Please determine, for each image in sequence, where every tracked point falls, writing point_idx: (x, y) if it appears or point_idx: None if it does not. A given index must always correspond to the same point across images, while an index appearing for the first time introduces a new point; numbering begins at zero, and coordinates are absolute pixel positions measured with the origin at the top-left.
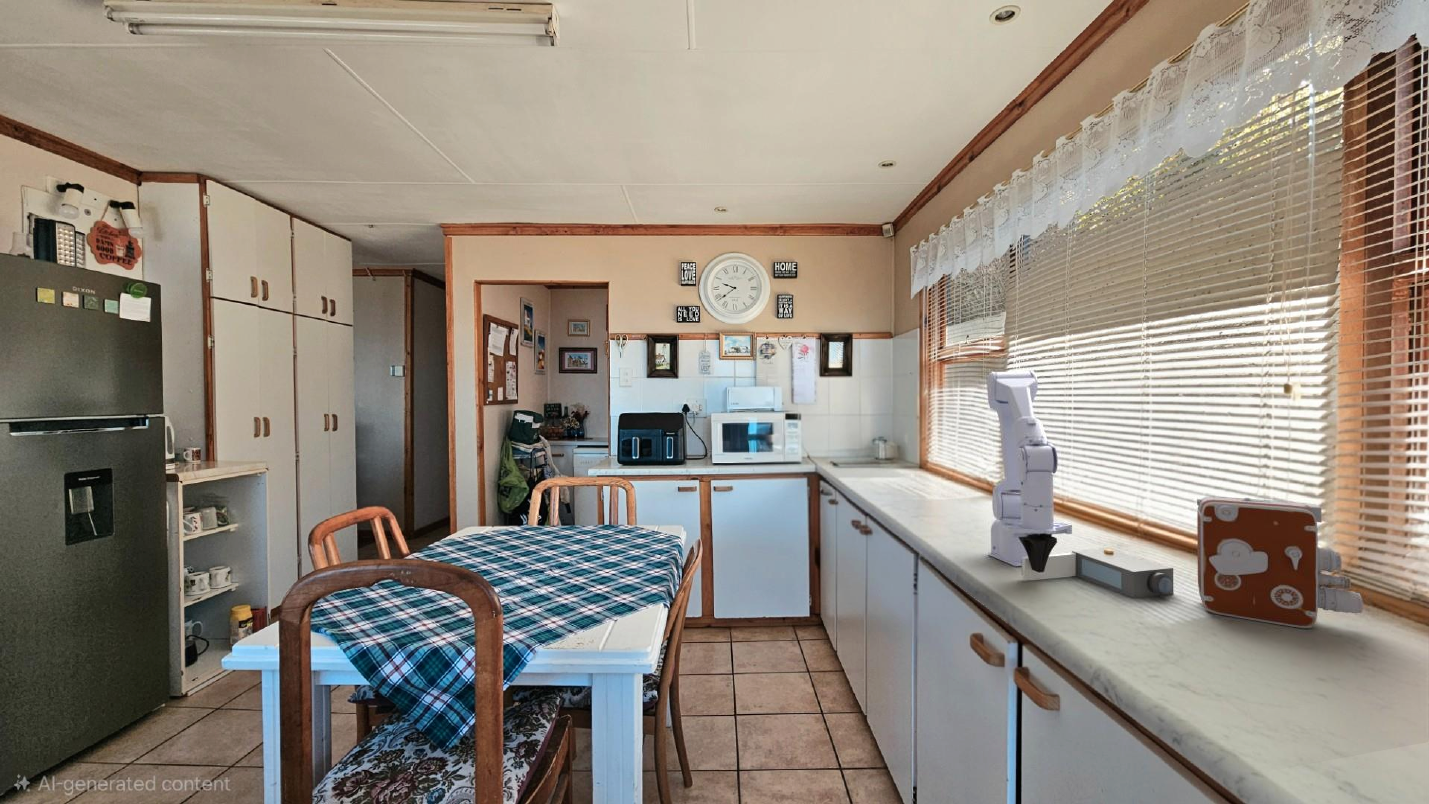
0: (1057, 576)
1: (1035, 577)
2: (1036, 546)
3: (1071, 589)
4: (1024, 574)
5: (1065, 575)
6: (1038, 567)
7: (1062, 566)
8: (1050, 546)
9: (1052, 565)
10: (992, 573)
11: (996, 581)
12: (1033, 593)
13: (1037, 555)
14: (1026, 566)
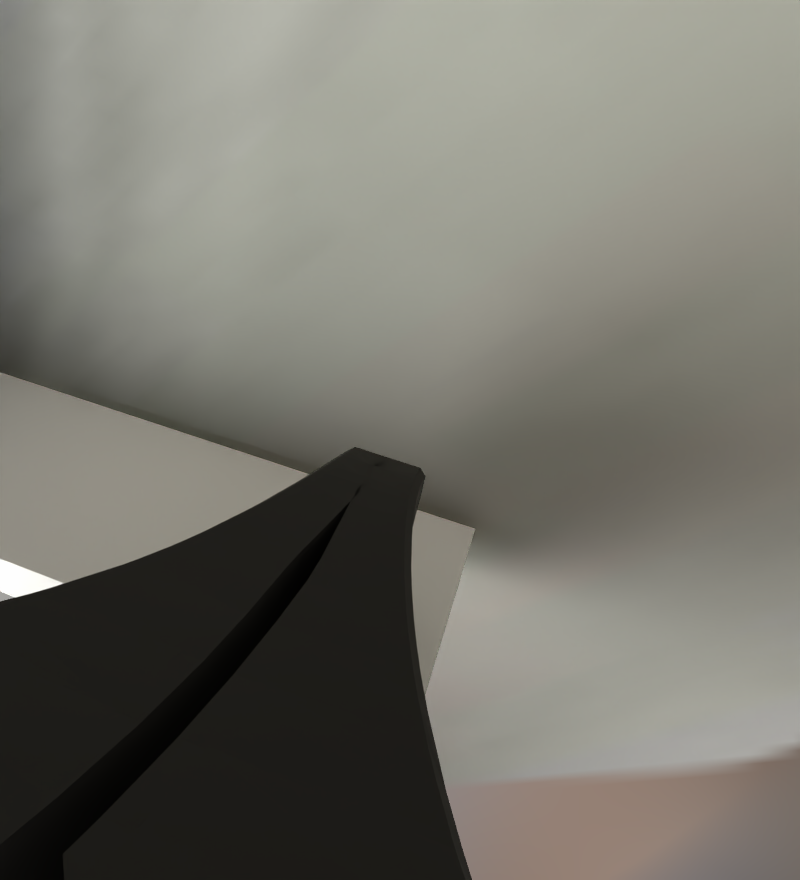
0: (136, 420)
1: None
2: (464, 876)
3: (252, 151)
4: (461, 572)
5: (57, 396)
6: (411, 511)
7: (14, 448)
8: (42, 659)
9: (108, 498)
10: (527, 743)
11: (710, 662)
12: (783, 279)
13: (414, 647)
14: (426, 624)
